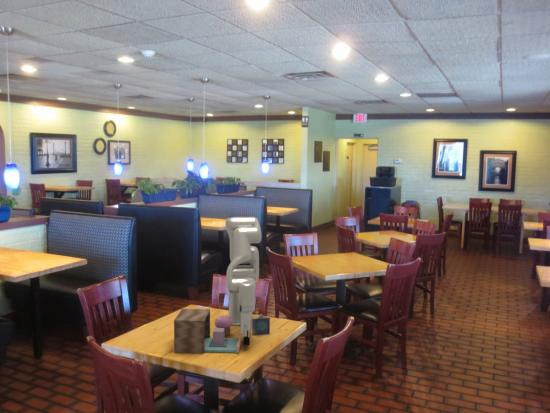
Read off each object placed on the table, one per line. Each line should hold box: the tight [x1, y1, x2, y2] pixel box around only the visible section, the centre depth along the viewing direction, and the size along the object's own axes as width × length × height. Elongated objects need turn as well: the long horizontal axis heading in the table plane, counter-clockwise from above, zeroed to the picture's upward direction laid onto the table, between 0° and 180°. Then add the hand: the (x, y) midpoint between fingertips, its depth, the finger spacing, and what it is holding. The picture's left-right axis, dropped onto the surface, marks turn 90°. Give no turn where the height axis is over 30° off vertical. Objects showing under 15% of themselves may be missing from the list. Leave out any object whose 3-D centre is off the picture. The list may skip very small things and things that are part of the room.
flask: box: [251, 313, 271, 336], centre depth 242 cm, size 9×3×11 cm, turn 102°
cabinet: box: [173, 308, 211, 354], centre depth 226 cm, size 14×17×16 cm
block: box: [212, 327, 226, 345], centre depth 226 cm, size 5×5×7 cm
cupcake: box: [214, 315, 233, 337], centre depth 241 cm, size 9×9×10 cm
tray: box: [204, 332, 243, 354], centre depth 226 cm, size 18×17×3 cm
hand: (246, 344), depth 226 cm, fingers closed
